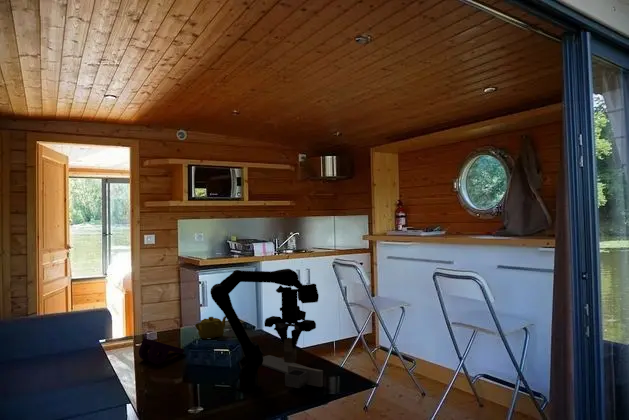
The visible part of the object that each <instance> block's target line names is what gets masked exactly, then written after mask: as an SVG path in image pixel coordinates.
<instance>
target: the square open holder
mask: <svg viewBox="0 0 629 420" xmlns="http://www.w3.org/2000/svg"><path fill="white" fill-rule="evenodd" d="M307 383H308V372H307V370H302V369H301V370H297V369H293V370H291V371H289V372H288V373H286V374H284V386H285V387H291V388H295V389H301V388H302V387H304V386H305V385H307Z"/></svg>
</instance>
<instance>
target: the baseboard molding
mask: <svg viewBox="0 0 629 420" xmlns="http://www.w3.org/2000/svg"><path fill="white" fill-rule="evenodd" d="M262 357H263V363H262V365H261V366H263V367H265V368H267V367H268V369H271V370H274V371H276V372H280V373H282V374H284V375H285V374H286V373H288V365H290V364H291V365H297V366H302V367H307V368H310V367H308V366H305V365H302V364H300V363H296V362H293V363H287V362H284V358H281V357H277V356H274V355H270V354H268V355H265V356H264V355H263V356H262ZM320 370H323V374H325V372H326V369H323V368H321V369H320Z"/></svg>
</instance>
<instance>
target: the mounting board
mask: <svg viewBox="0 0 629 420" xmlns="http://www.w3.org/2000/svg"><path fill="white" fill-rule="evenodd" d="M307 367H308V366H306V367H302V366H297V365H291V364H290V365H288V372H289V371H291V370H293V369H297V370H301V369H302V370H307V372H308V383H307V384H306V385H308V386H313V387H317V388H322V387H324V373H323V372H324V369H322V370H321V369H319V368H313V367H312V368H311V367H309V368H307Z"/></svg>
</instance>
